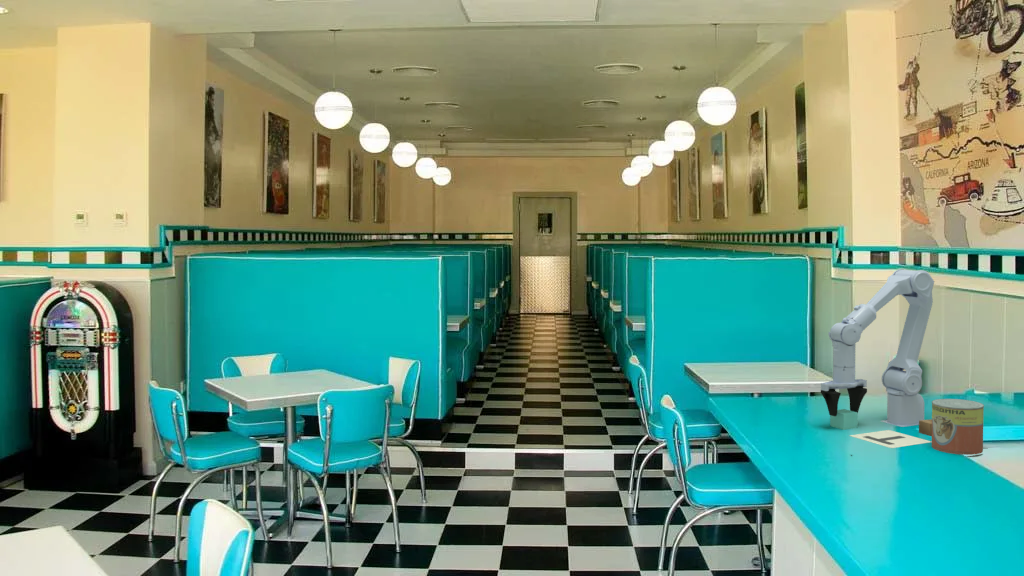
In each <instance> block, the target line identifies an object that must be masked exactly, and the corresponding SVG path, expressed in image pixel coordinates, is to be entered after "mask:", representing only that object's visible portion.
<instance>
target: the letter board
mask: <svg viewBox="0 0 1024 576" xmlns="http://www.w3.org/2000/svg"><path fill="white" fill-rule="evenodd" d="M848 436H849V437H852V438H855V439H858V440H862V441H866V442H869V443H873V444H877V445H879V446H882V447H886V448H888V449H895V448H901V447H907V446H908V447H909V446H914V445H922V444H928V443H929V444H930V443H932V440H931V441H930V440H927V439H924V438H920V437H916V436H913V435H909V434H905V433H901V432H898V431H894V430H891V429H887V430H877V431H871V432H866V433H865V432H864V433H858V434H850V435H848Z"/></svg>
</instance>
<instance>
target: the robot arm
mask: <svg viewBox="0 0 1024 576" xmlns="http://www.w3.org/2000/svg"><path fill="white" fill-rule="evenodd" d="M934 284H935V280H934V279H933V278H932V276H931V274H930V273H929V272H928V271H927V270H924V269H919V270H914V269H913V270H911V269H897V270H894V272H893V273H892V274H890V275H889V276H888V277H887V281H886V282H885V283H884V284H883V286H882V287H881V288H880V289H879V290H878V291H877V292H876V293H874V295H873V296H872V297H871V298H870V300H869V301H868V302H867V303H860V304H859V305H856V304H855V306H854V307H853V310H852V311H851V312H850V313H848V315H847V316H844V317H843V318H842V320H841V322H836V323H835V324H833V325H832V326H831V328H830V331H828V337H829V339H830V340H831V342H832V343H831V344H832V345H831V346H832V356H833V357H832V380H830V381H825V382H821V383H820V393H821V395H822V397H823V399H824V401H825V403H826V406H827V409H828V414H829V416H830V415H832V416H837V410H839V409H838V406H839V400H840V397H841V395H842V394H841V392H838V391H837V390H843V389H844V390H845V389H846V390H847V392H848V397H849V398H848V399H849V410H850V411H854V412H858V413H859V409H860V407H861V403H862V402H863V399H864V398H865V396H866V394H867V393H868V389H867V388H866V387H867V383H868V382H867V381H868V380H866V379H862V378H859V379H858V378H856V343H858V342H859V341H861V340H860V339H861V336H862V333H863V332H864V331H865V330H866V329H868V327H869V326H870V325H871V324H872V323H873V322H874V321H875V320H876V319H877V312H879V311H880V310H881V309H882V308H883V307H885V306H886V305H887V304H888V303H890V301H892V300H893V299H895V297H897V296H898V295H899V296H900V295H901V296H902V297H903V298H905V300H906V301H907V303H908V305H909V306H908V310H907V314H906V318H905V322H904V326H903V329H902V331H901V336H900V341H899V345H898V348H897V352H896V355H895V357H894V358H893V359H892V360H890V361H889V362H888V364H887V367H886V369H885V370H884V371H883V373H882V375H881V383H882V385H883V387H884V388H885V392H887V396H886V397H887V398H886V399H887V401H886V402H887V404H886V405H887V409H886V410H887V411H886V414H887V416H886V417H887V418H886V419H884V420H880V423H881V422H882V423H886V424H888V425H889V424H890V425H893V426H897V427H902V428H904V427H911V426H912V427H913V426H919V420H925V400H924V398H923V396H922V395H921V394H920V393H919V392H920V390H921V389H922V386H923V378H922V375H923V369H922V368H921V366H920V365H919V364H918V360H919V356H920V352H921V349H922V345H923V342H924V337H925V333H926V330H927V326H928V322H929V319H930V318H929V317H930V315H931V311H932V307H933V303H934V302H933V300H934V299H933V289H934Z"/></svg>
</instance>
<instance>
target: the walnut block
mask: <svg viewBox="0 0 1024 576" xmlns="http://www.w3.org/2000/svg"><path fill="white" fill-rule="evenodd" d="M918 433H919V434H922V435H926V436H929V437H932V418H929V419H924V420H919V425H918Z"/></svg>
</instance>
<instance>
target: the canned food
mask: <svg viewBox="0 0 1024 576" xmlns="http://www.w3.org/2000/svg"><path fill="white" fill-rule="evenodd" d="M984 407H985V405H984V404H983V403H982V402H978V401H974V400H969V399H962V398H961V399H960V398H959V399H958V398H936V399H934V400H932V401H931V419H932V436H931V441H932V442H931V447H932V449H933V450H935V451H939V452H943V453H947V454H952V455H953V454H955V455H965V456H966V458H978V457H982V456H983V455H984V453H983V452H984Z"/></svg>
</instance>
